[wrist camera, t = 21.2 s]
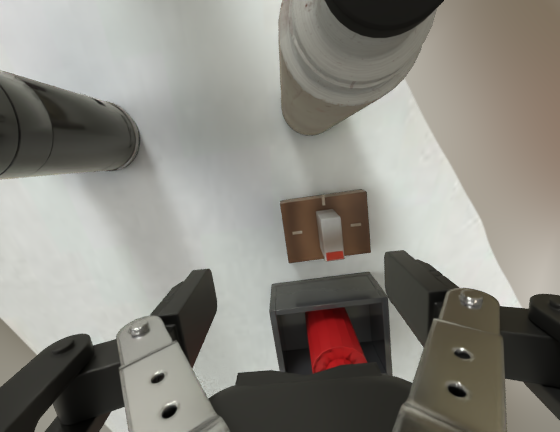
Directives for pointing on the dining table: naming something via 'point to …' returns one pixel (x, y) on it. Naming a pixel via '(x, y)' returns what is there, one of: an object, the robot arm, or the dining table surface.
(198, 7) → the dining table surface
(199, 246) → the dining table surface
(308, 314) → the bottle
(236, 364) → the dining table surface
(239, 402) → the robot arm
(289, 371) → the dark grey storage bin
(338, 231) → the grey switch handle
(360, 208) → the brown switch base plate
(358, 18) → the thermos bottle
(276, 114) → the dining table surface
